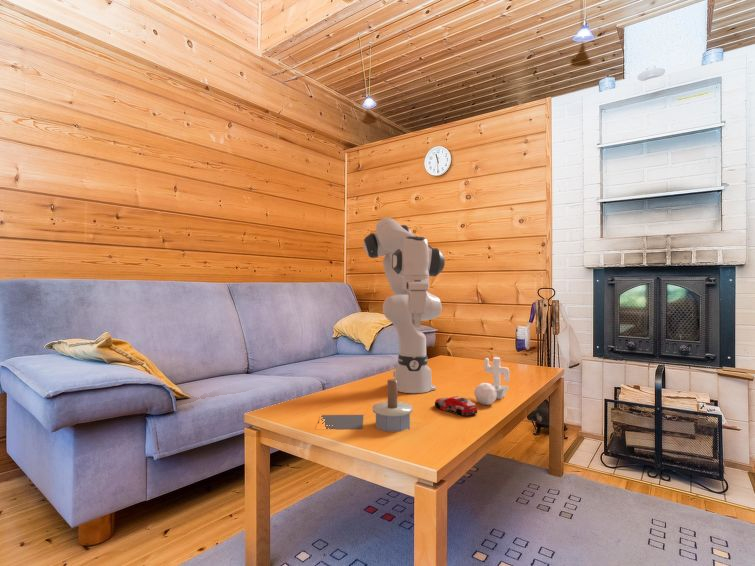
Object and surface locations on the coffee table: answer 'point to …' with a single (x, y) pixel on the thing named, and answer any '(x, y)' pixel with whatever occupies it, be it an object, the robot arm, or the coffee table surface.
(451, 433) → the coffee table surface
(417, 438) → the coffee table surface
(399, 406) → the lid
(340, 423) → the mat
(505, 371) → the figurine
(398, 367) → the robot arm
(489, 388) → the geometric ball
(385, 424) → the bowl
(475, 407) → the race car
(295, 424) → the coffee table surface
